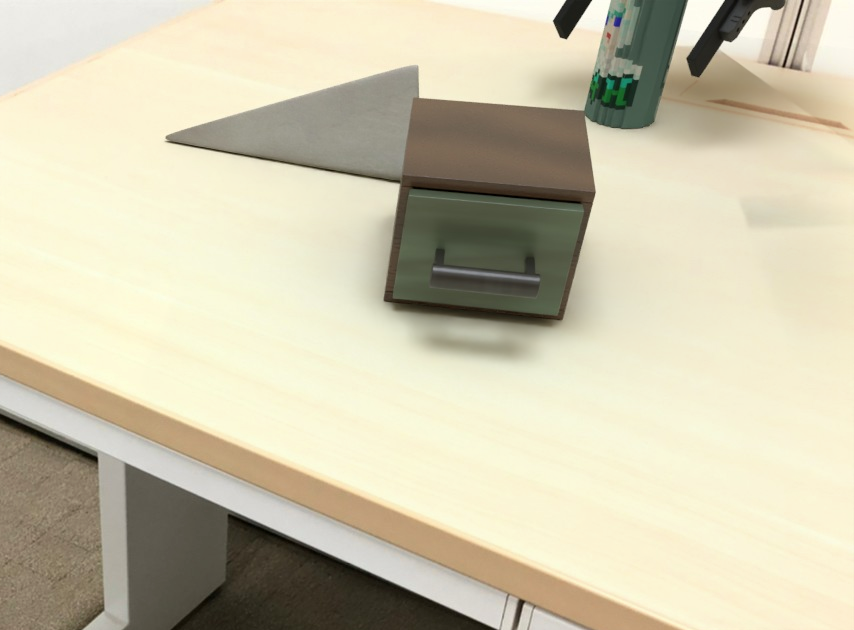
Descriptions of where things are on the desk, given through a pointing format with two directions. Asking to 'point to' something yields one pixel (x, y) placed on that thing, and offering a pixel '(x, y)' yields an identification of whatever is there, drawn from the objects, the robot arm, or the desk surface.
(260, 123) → the grey triangular wedge
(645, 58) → the can
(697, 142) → the desk surface
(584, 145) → the cabinet
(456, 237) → the drawer
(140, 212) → the desk surface
